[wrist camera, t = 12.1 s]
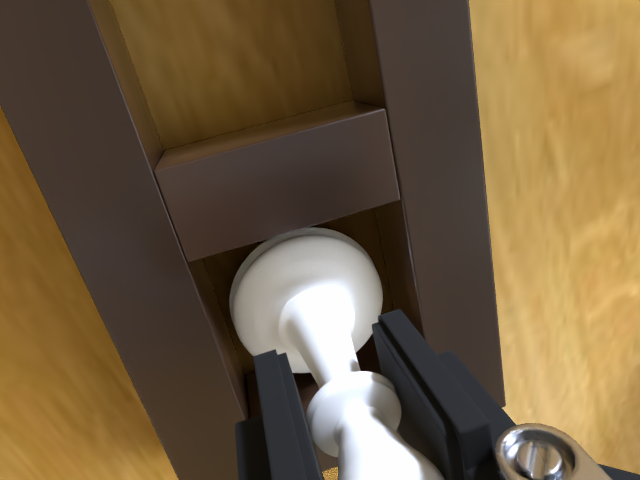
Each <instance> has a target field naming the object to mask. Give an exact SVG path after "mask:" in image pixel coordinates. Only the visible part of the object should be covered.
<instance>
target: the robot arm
mask: <svg viewBox="0 0 640 480" xmlns="http://www.w3.org/2000/svg"><path fill="white" fill-rule="evenodd" d="M372 331H373V335H374V340H375V345H376V349H377V354H378V359H379V363H380V368H381V372H382V376H384V377H386V378H387V379H388V380H390V381H391V382H392V383H393V384H394V386H395V389H396V393H397V396H398V398H399V400H400V404H401V411H402V413H401V420H400V423H399V426H398V428H397V429H398V431H399V433H400V435H401V437H402V438H403V440H404V441H405V442H407V443H408V444H409V445H410V446H411V447H413V448H414V449H415V450H417V451H419V452H420V453H421V454H423V455H424V456H425V457H426V458H427V459H428V460H429V461H430V462H432V463H433V464H434V465H435V466H436V468H437V469H438V470H439V471H440V472H441V474H442V475H443V477H444V479H445V480H640V475H639V474H635V473H631V472H627V471H623V470H620V469H616V468H612V467H608V466H604V465H601V464H597V463H596V462H595V461H594V460H593V459H592V458H591V457H590V456H589V455H588V454H587V453H586V452H585V450H584V449H583V448H582V447H581V446H580V445H579V444H578V443H577V442H576V441H575V440H574V439H572V438H571V437H570V436H569V435H567V434H566V433H565V432H562V431H560V430H558V429H556V428H554V427H551V426H547V425H543V424H536V423H525V424H520V425H516V424H515V423H514V422H513V421H512V420H511V418H510V417H509V416H508V415H507V414H506V413H505V411H504V410H503V409H502V408H501V407H500V406H499V404H498V403H497V402H496V401H495V400H494V399H493V397H492V396H491V395H490V394H489V393H488V392H487V390H486V389H485V388H484V387H483V386H482V385H481V383H480V382H479V381H478V380H477V379H476V378H475V376H474V375H473V374H472V373H471V372H470V371H469V369H468V368H467V367H466V366H465V365H464V364H463V362H462V361H461V360H460V359H459V358H458V356H457V355H456V354H455V353H454V352H452V351H450V350H449V351H446V352H443V353H440V354H437V355H436V353H435V352H434V351H433V349H432V348H431V347H430V346H429V344H428V343H427V342H426V341H425V339H424V338H423V337H422V336H421V334H420V333H419V332H418V330H417V329H416V328H415V327H414V325H413V324H412V323H411V322H410V320H409V319H408V318H407V317H406V315H405V314H404V313H403V311H402V310H401V309H397V310H394V311H391V312H388V313H385V314H382V315H379V316H378V322H377V323H374V324H372ZM253 358H254V365H255V372H256V378H257V385H258V391H259V398H260V405H261V411H262V414H261V415H258V416H255V417H252V418H249V419H246V420H243V421H240V422H237V423H236V424H235V437H236V451H237V465H238V479H239V480H324V477H323V473H322V470H321V466H320V463H319V459H318V455H317V452H316V448H315V445H314V441H313V440H312V438H311V435H310V432H309V429H308V425H307V422H306V415H305V412H304V409H303V406H302V402H301V399H300V396H299V393H298V389H297V386H296V383H295V380H294V376H293V373H292V370H291V367H290V363H289V360H288V357H287V354H286V352H285V353H282V354H279V355H278V354H277V351H276V349H274V350H271V351H268V352H265V353H262V354H259V355H256V356H254V357H253Z"/></svg>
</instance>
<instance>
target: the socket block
mask: <svg viewBox="0 0 640 480" xmlns="http://www.w3.org/2000/svg"><path fill="white" fill-rule="evenodd" d="M335 4H336V9H337V14H338V20H339V25H340V30H341V35H342V40H343V46H344V51H345V56H346V61H347V67H348V72H349V77H350V82H351V88H352V93H353V98H354V101H348V102H345V103H341V104H337V105H333V106H329V107H326V108H322V109H318V110H314V111H310V112H307V113H303V114H299V115H295V116H292V117H288V118H284V119H280V120H276V121H273V122H269V123H265V124H261V125H257V126H254V127H250V128H246V129H242V130H238V131H235V132H231V133H227V134H223V135H220V136H216V137H212V138H208V139H204V140H201V141H197V142H193V143H189V144H185V145H182V146H178V147H174V148H170V149H167V150H165V151H164V150H163V147H162V144H161V141H160V138H159V136H158V133H157V130H156V127H155V124H154V122H153V119H152V116H151V113H150V110H149V108H148V105H147V102H146V99H145V97H144V94H143V91H142V88H141V85H140V83H139V80H138V77H137V74H136V71H135V69H134V66H133V63H132V60H131V57H130V55H129V52H128V49H127V46H126V44H125V41H124V38H123V35H122V32H121V30H120V27H119V24H118V21H117V18H116V16H115V13H114V10H113V7H112V4H111V2H110V0H0V106H1V108H2V110H3V112H4V114H5V117H6V119H7V121H8V123H9V125H10V127H11V129H12V131H13V133H14V135H15V137H16V140H17V142H18V144H19V146H20V148H21V150H22V152H23V154H24V156H25V158H26V161H27V163H28V165H29V167H30V169H31V171H32V173H33V175H34V177H35V179H36V181H37V184H38V186H39V188H40V190H41V192H42V194H43V196H44V198H45V200H46V202H47V205H48V207H49V209H50V211H51V213H52V215H53V217H54V219H55V221H56V223H57V225H58V228H59V230H60V232H61V234H62V236H63V238H64V240H65V242H66V244H67V246H68V249H69V251H70V253H71V255H72V257H73V259H74V261H75V263H76V265H77V267H78V270H79V272H80V274H81V276H82V278H83V280H84V282H85V284H86V286H87V288H88V290H89V293H90V295H91V297H92V299H93V301H94V303H95V305H96V307H97V309H98V311H99V314H100V316H101V318H102V320H103V322H104V324H105V326H106V328H107V330H108V332H109V334H110V337H111V339H112V341H113V343H114V345H115V347H116V349H117V351H118V353H119V355H120V358H121V360H122V362H123V364H124V366H125V368H126V370H127V372H128V374H129V376H130V378H131V381H132V383H133V385H134V387H135V389H136V391H137V393H138V395H139V397H140V399H141V402H142V404H143V406H144V408H145V410H146V412H147V414H148V416H149V418H150V420H151V422H152V425H153V427H154V429H155V431H156V433H157V435H158V437H159V439H160V441H161V443H162V446H163V448H164V450H165V452H166V454H167V456H168V458H169V460H170V462H171V464H172V466H173V469H174V471H175V473H176V475H177V477H178V479H179V480H239V479H238V465H237V451H236V437H235V424H236V423H237V422H240V421H243V420H246V419H249V418H252V417H255V416H258V415H261V414H262V411H261V405H260V398H259V391H258V385H257V378H256V372H255V373H252V374H249V375H247V376H246V377H245V376H244V373H243V370H242V367H241V365H240V362H239V359H238V356H237V353H236V351H235V348H234V345H233V342H232V339H231V337H230V334H229V331H228V328H227V325H226V323H225V320H224V317H223V314H222V311H221V309H220V306H219V303H218V300H217V298H216V295H215V292H214V289H213V286H212V284H211V281H210V278H209V275H208V272H207V270H206V267H205V264H204V261H203V258H205V257H208V256H212V255H215V254H218V253H222V252H225V251H229V250H232V249H235V248H239V247H242V246H246V245H249V244H252V243H256V242H259V241H263V240H266V239H269V238H273V237H276V236H280V235H283V234H286V233H290V232H293V231H297V230H300V229H303V228H307V227H310V226H314V225H317V224H321V223H324V222H327V221H331V220H334V219H338V218H341V217H344V216H348V215H351V214H355V213H358V212H361V211H365V210H368V209H372V208H375V213H376V218H377V224H378V229H379V234H380V239H381V245H382V250H383V255H384V260H385V265H386V271H387V276H388V281H389V286H390V292H391V297H392V302H393V307H394V310H397V309H401V310H402V311H403V313H404V314H405V315H406V317H407V318H408V319H409V320H410V322H411V323H412V324H413V325H414V327H415V328H416V329H417V330H418V332H419V333H420V334H421V336H422V337H423V338H424V339H425V341H426V342H427V343H428V344H429V346H430V347H431V348H432V349H433V351H434V352H435V353H436V355H437V354H440V353H443V352H446V351H449V350H450V351H452V352H454V353H455V354H456V355H457V356H458V358H459V359H460V360H461V361H462V362H463V364H464V365H465V366H466V367H467V368H468V369H469V371H470V372H471V373H472V374H473V375H474V376H475V378H476V379H477V380H478V381H479V382H480V383H481V385H482V386H483V387H484V388H485V389H486V390H487V392H488V393H489V394H490V395H491V396H492V397H493V399H494V400H495V401H496V402H497V403H498V404H499V406H500V407H501V408H502V407H505V406H506V403H505V392H504V381H503V370H502V359H501V348H500V337H499V326H498V316H497V305H496V294H495V283H494V272H493V261H492V250H491V239H490V228H489V217H488V206H487V195H486V185H485V174H484V163H483V152H482V141H481V130H480V119H479V108H478V97H477V86H476V75H475V65H474V54H473V43H472V32H471V21H470V10H469V0H335ZM355 354H356V357H357V360H358V364H359V367H360V370H361V371H368V372H374V373H377V374H380V375H382V372H381V368H380V363H379V359H378V354H377V349H376V345H375V340H374V335H373V334H372V335H371V336H370V338H369V339H368V340H367V342H366V343H365V344H364V345H363V346H362V347H361V348H360V349H359V350H358V351H357V352H356V353H355ZM293 376H294V380H295V383H296V386H297V389H298V393H299V396H300V399H301V402H302V406H303V409H304V412H305V415H306V413H307V409H308V406H309V404H310V402H311V400H312V398H313V397H314V395H315V394H316V393H317V392H318V391H319V387H318V384H317V383H316V381H315V379H314V377H313V375H312V374H311V373H293ZM396 432H397V433H398V434H399V435H400V433H399V431H398V429H397V430H396ZM400 436H401V435H400ZM314 445H315V448H316V452H317V455H318V459H319V463H320V466H321V470H322V472H323V471H326V470H329V469H331V468H334V467H337V466H338V457H334V456H331V455H328V454H326V453H325V452H323V451H322V450H321V449H319V447H318V446H317V445H316V444H315V442H314Z"/></svg>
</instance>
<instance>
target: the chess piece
mask: <svg viewBox="0 0 640 480" xmlns="http://www.w3.org/2000/svg"><path fill="white" fill-rule="evenodd" d="M382 303H383V291H382V285H381V281H380V278H379V275H378V273H377V270H376V268H375V265H374V263H373V261H372V259H371V258H370V256H369V255H368V253H367V252H366V251H365V250H364V249H363V248H362V247H361V246H360V245H359V244H358V243H357V242H356V241H354V240H353V239H351V238H350V237H348V236H346V235H344V234H342V233H340V232H337V231H334V230H331V229H326V228H318V227H307V228H303V229H300V230H297V231H293V232H290V233H286V234H283V235H280V236H276V237H273V238H270V239H268V240H266V241H265V242H263V243H262V244H260V245H259V246H258V247H257V248H256V249H254V250H253V251H252V252H251V253H250V254H249V255H248V257H247V258H246V259H245V260H244V262H243V263H242V264H241V266H240V268H239V269H238V271H237V273H236V275H235V278H234V280H233V283H232V287H231V291H230V300H229V306H230V314H231V319H232V322H233V325H234V327H235V329H236V332H237V335H238V337H239V339H240V341H241V342H242V344H243V345H244V347H245V348H246V349H247V350H248V352H249V353H250V354H251V355H252V356H256V355H259V354H262V353H265V352H268V351H271V350H274V349H276V351H277V354H278V355H279V354H282V353H285V352H286V354H287V357H288V360H289V363H290V367H291V370H292V373H311V374H312V375H313V377H314V379H315V381H316V383H317V384H318V387H319V391H318V392H317V393H316V394H315V395H314V397H313V398H312V400H311V402H310V404H309V406H308V409H307V413H306V422H307V425H308V429H309V432H310V435H311V438H312V440H313V441H314V442H315V444H316V445H317V446H318V447H319V449H321V450H322V451H323V452H325V453H326V454H328V455H331V456H334V457H338V480H445V479H444V477H443V475H442V474H441V472H440V471H439V470H438V469H437V468H436V466H435V465H434V464H433V463H432V462H430V461H429V460H428V459H427V458H426V457H425V456H424V455H423V454H421V453H420V452H419V451H417V450H415V449H414V448H413V447H411V446H410V445H409V444H408V443H407V442H405V441H404V440H403V438H402V437H401V436H400V435H399V434H398V433H397V432H396V430H397V428H398V426H399V423H400V420H401V413H402V411H401V404H400V400H399V398H398V396H397V393H396V389H395V386H394V384H393V383H392V382H391V381H390V380H388V379H387V378H386V377H384V376H382V375H380V374H377V373H374V372H368V371H361V370H360V367H359V364H358V360H357V357H356V354H355V353H356V352H357V351H358V350H359V349H360V348H361V347H362V346H363V345H364V344H365V343H366V342H367V340H368V339H369V338H370V336H371V335H372V333H373V331H372V324H374V323H377V322H378V316H379V315H380V314H381V310H382Z"/></svg>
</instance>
